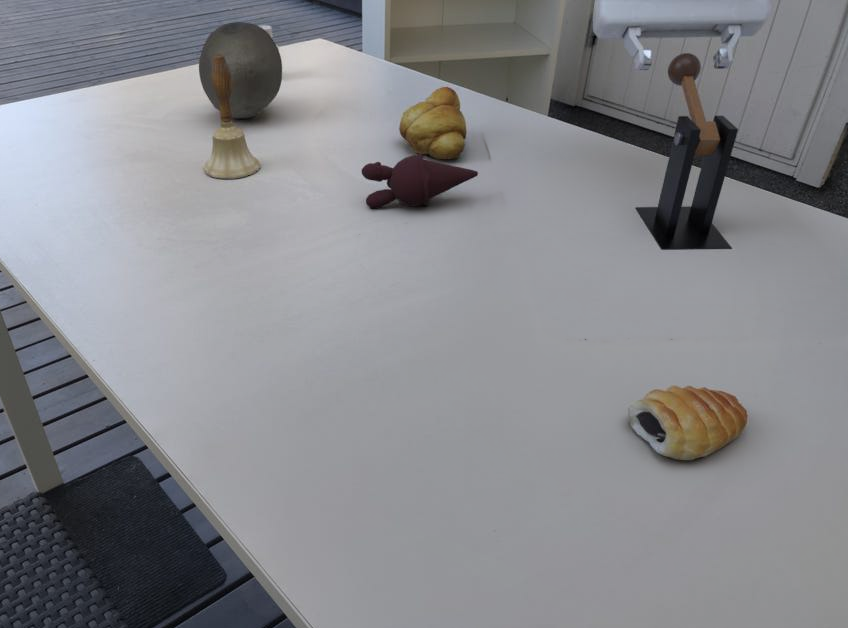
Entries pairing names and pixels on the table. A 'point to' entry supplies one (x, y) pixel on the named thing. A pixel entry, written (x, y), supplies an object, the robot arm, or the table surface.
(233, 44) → the grey round ball
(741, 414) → the pastry
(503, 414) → the table surface
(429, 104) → the bread roll
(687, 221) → the bracket
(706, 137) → the lever
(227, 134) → the hand bell
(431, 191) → the icecream
